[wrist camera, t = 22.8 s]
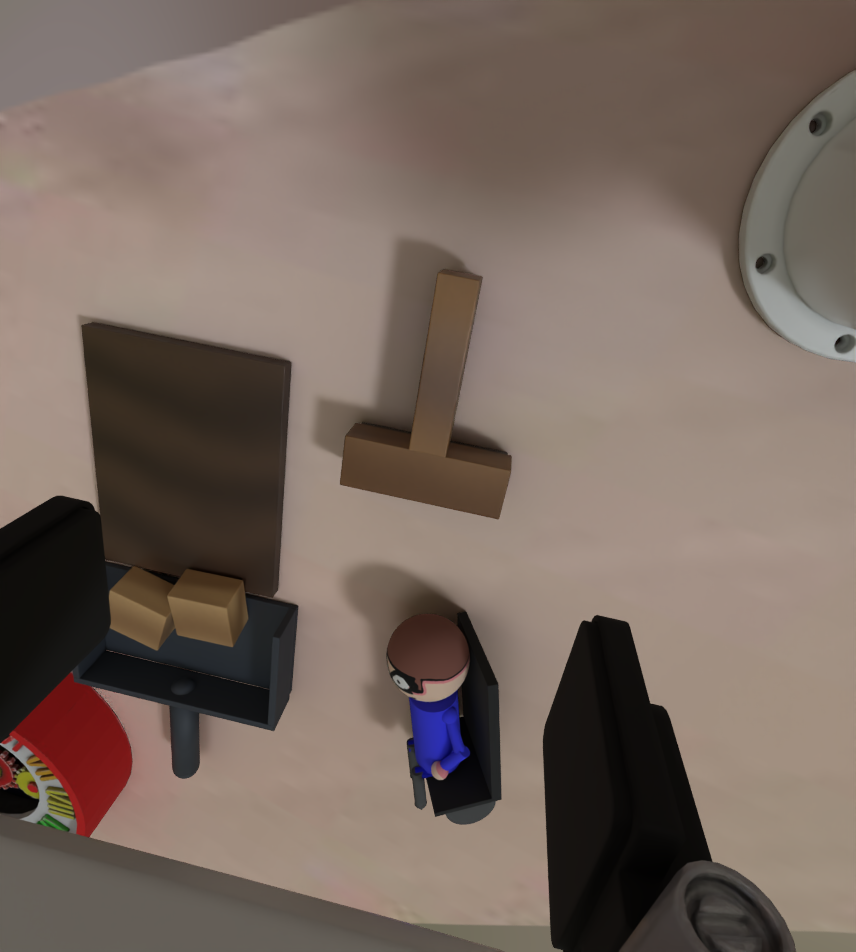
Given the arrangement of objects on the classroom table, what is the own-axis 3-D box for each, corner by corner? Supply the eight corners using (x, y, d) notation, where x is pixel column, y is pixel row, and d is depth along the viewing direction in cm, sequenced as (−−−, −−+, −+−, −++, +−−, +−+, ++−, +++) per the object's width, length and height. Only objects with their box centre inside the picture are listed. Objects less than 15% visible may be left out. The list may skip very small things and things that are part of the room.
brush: (379, 253, 29) (363, 258, 26) (552, 287, 29) (556, 295, 26) (353, 464, 34) (338, 486, 32) (500, 495, 34) (498, 521, 31)
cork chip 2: (186, 567, 38) (166, 596, 36) (243, 579, 38) (226, 608, 36) (195, 607, 41) (176, 635, 39) (249, 618, 40) (233, 647, 38)
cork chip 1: (134, 564, 39) (109, 590, 37) (187, 591, 39) (166, 617, 37) (127, 599, 41) (103, 625, 39) (178, 624, 41) (157, 651, 39)
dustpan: (94, 558, 41) (60, 587, 38) (298, 605, 40) (279, 638, 37) (113, 731, 48) (85, 766, 45) (285, 774, 47) (268, 813, 44)
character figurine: (414, 745, 44) (402, 580, 38) (510, 760, 42) (512, 590, 36) (385, 844, 37) (364, 661, 31) (497, 867, 35) (499, 678, 29)
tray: (92, 321, 33) (80, 324, 32) (291, 361, 32) (285, 366, 32) (113, 551, 40) (104, 559, 39) (278, 589, 39) (272, 598, 38)
